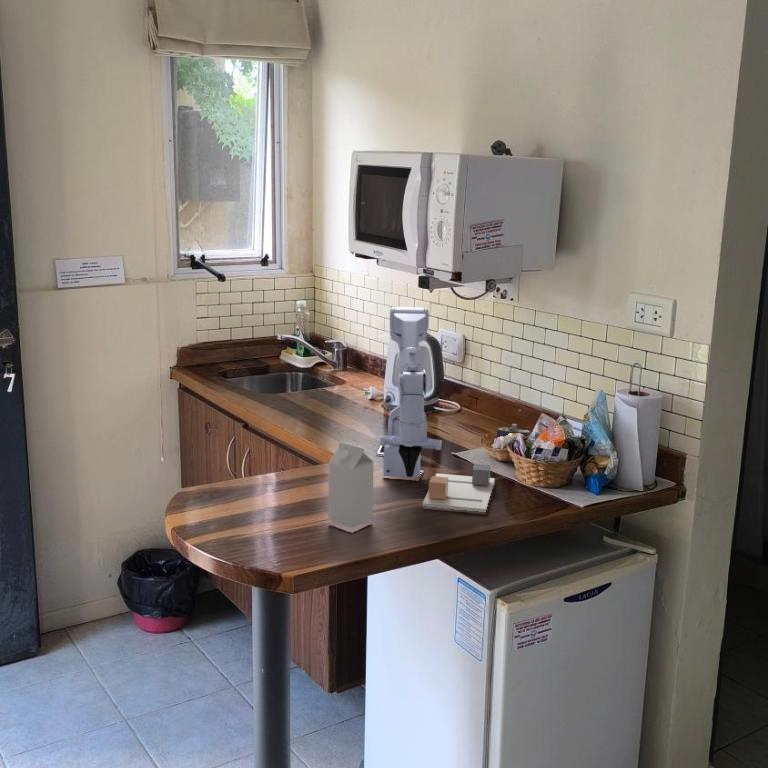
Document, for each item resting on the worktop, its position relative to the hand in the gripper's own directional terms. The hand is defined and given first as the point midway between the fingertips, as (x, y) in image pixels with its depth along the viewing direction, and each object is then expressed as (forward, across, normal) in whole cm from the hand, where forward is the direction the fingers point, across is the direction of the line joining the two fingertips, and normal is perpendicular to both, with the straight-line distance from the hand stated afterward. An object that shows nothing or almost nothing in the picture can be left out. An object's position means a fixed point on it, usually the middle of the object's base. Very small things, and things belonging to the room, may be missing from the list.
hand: (410, 475), depth 221 cm
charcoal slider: (+4, +16, +12) cm, 21 cm away
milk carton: (+7, -10, -19) cm, 22 cm away
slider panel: (+6, +12, +6) cm, 14 cm away
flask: (+6, +22, +37) cm, 44 cm away
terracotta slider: (+4, +7, 0) cm, 8 cm away
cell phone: (+7, -12, +39) cm, 41 cm away
